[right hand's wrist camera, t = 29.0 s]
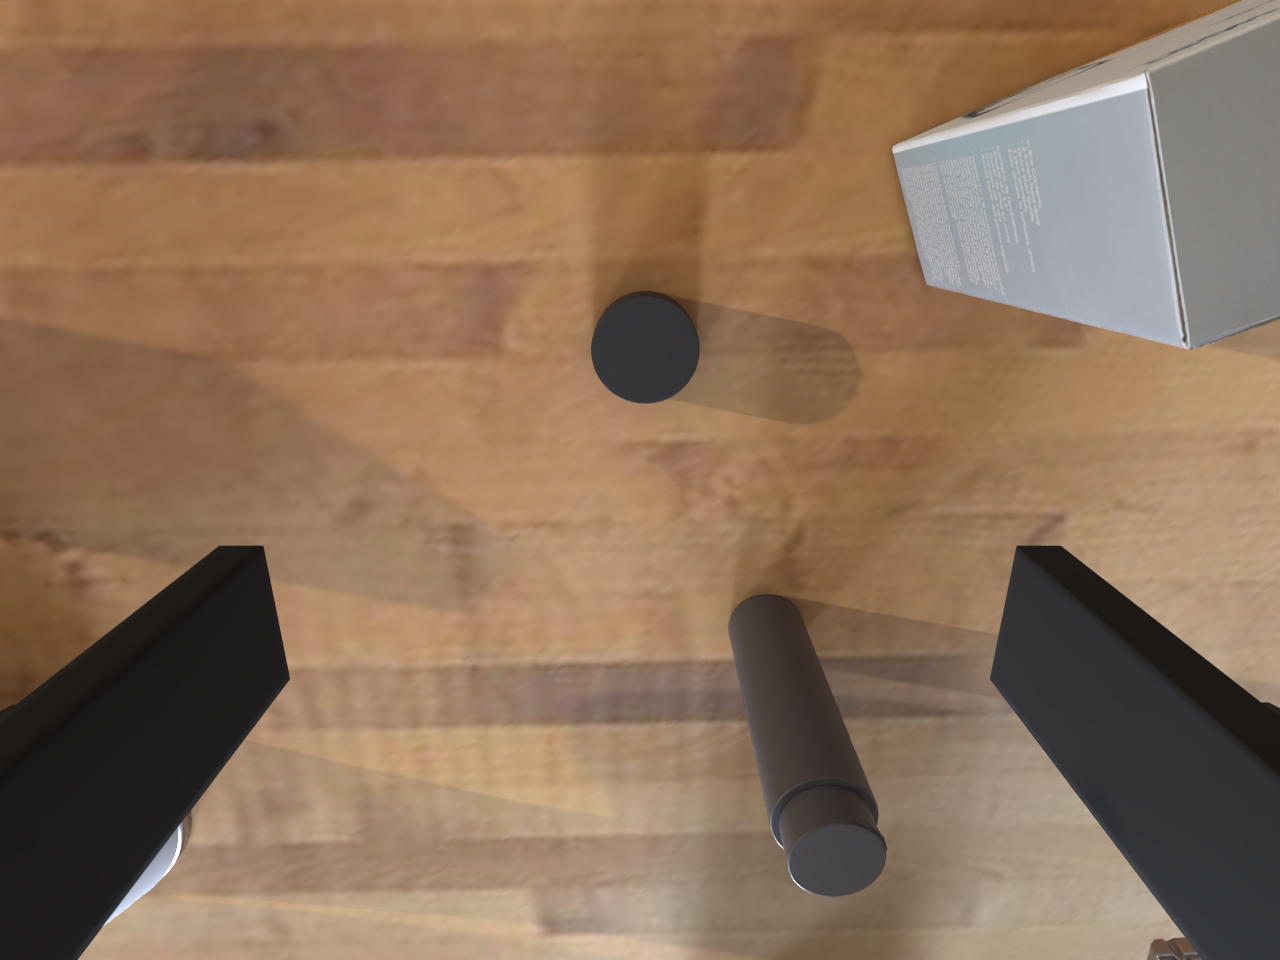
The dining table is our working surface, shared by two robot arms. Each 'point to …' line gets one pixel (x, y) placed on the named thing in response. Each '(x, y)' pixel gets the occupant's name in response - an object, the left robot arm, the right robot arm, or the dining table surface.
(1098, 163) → the hard drive box
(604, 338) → the lid
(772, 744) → the dark grey cylinder
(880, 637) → the dining table surface
